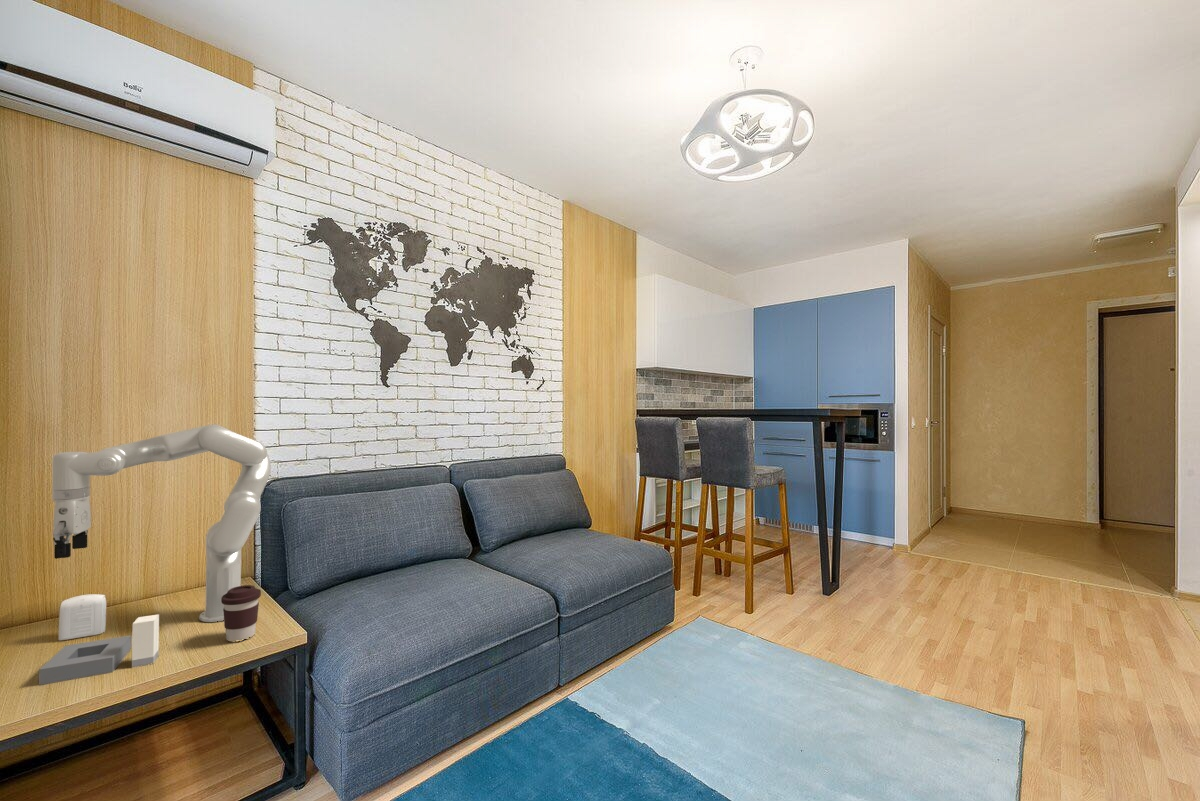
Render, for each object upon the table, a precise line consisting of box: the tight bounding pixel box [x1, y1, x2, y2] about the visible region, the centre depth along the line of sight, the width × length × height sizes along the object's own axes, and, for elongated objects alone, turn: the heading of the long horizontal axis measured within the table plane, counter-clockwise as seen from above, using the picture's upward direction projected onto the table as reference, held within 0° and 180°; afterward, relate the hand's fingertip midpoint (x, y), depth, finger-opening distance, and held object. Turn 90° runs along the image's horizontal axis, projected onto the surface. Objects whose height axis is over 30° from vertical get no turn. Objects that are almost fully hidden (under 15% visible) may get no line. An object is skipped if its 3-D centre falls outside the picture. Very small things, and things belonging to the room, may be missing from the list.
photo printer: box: [58, 593, 107, 641], centre depth 155 cm, size 10×4×12 cm, turn 123°
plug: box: [131, 614, 160, 668], centre depth 140 cm, size 4×4×12 cm
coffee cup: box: [221, 584, 262, 642], centre depth 155 cm, size 10×10×15 cm
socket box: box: [38, 635, 132, 686], centre depth 138 cm, size 14×14×4 cm
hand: (71, 552), depth 147 cm, fingers open, 9 cm apart
